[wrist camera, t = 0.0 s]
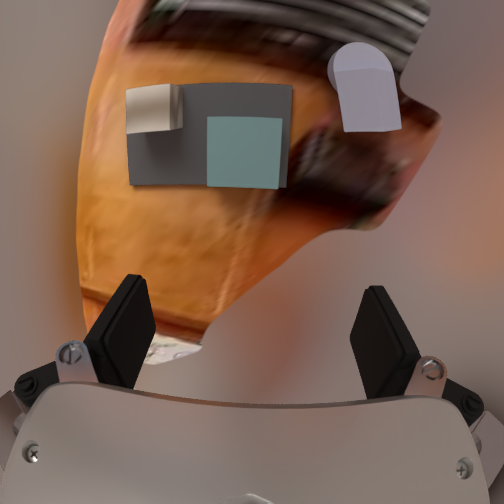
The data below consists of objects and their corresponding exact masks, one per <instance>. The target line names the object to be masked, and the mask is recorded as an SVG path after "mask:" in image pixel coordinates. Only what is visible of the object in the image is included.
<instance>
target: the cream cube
mask: <svg viewBox="0 0 504 504" xmlns="http://www.w3.org/2000/svg"><path fill="white" fill-rule="evenodd" d="M179 128H183V88H182V87H179V86H176V85H173V84H162V85H153V86H146V87H139V88H133V89H127V90H126V134H130V133H140V132H151V131H165V130H173V129H179Z"/></svg>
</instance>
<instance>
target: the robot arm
mask: <svg viewBox="0 0 504 504" xmlns="http://www.w3.org/2000/svg"><path fill="white" fill-rule="evenodd" d="M155 331H156V325H155V321H154V316H153V312H152V308H151V303H150V299H149V294H148V289H147V284H146V280H145V279H142V276H141V275H134V274H128V275H127V276H126V277H125V279H124V280H123V282H122V283H121V284H120V286H119V287H118V289H117V290H116V292H115V293H114V295H113V296H112V298H111V299H110V300H109V302H108V303H107V305H106V306H105V308H104V309H103V311H102V312H101V314H100V316H99V317H98V319H97V320H96V322H95V323H94V325H93V326H92V328H91V330H90V331H89V333H88V334H87V336H86V338H85V339H84V341H83V342H80V341H75V340H73V341H69V342H66V343H64V344H63V345H61V346H60V347H59V349H58V350H57V352H56V355H55V360H56V361H54V362H51V363H49V364H46V365H44V366H41V367H39V368H37V369H34V370H32V371H29V372H27V373H25V374H23V375H21V376H20V377H19V378H18V379H17V381H16V383H15V386H14V389H15V390H14V391H13V392H12V391H11V390H10V391H8V392H7V393H6V394H4V395H3V396H2V397H1V398H0V465H1V467H2V469H3V470H4V474H3V478H2V482H1V486H0V504H490V500H489V494H488V488H489V487H490V485H491V484H492V482H493V481H494V479H495V477H496V476H497V474H498V472H499V471H500V469H501V467H502V465H503V464H504V426H503V425H502V424H501V423H500V422H499V421H498V420H497V419H496V418H495V417H494V416H493V415H492V414H491V413H489V411H486V412H484V404H483V401H482V399H481V398H480V397H479V395H477V394H476V393H474V392H472V391H470V390H469V389H467V388H465V387H463V386H461V385H459V384H457V383H455V382H453V381H452V380H450V379H448V378H447V369H446V367H445V365H444V363H443V362H442V361H441V360H439V359H437V358H436V357H433V356H424V357H421V355H420V353H419V350H418V348H417V346H416V344H415V342H414V340H413V339H412V336H411V334H410V332H409V331H408V329H407V327H406V325H405V323H404V321H403V320H402V318H401V316H400V314H399V313H398V311H397V309H396V307H395V305H394V304H393V302H392V300H391V299H390V297H389V295H388V293H387V292H386V290H385V288H384V287H383V286H369V288H368V289H366V290H365V292H364V294H363V298H362V301H361V304H360V307H359V311H358V313H357V316H356V320H355V322H354V325H353V328H352V331H351V334H350V343H351V346H352V349H353V352H354V355H355V359H356V362H357V365H358V369H359V372H360V376H361V379H362V382H363V386H364V389H365V393H366V397H367V400H357V401H347V402H334V403H317V404H248V403H231V402H218V401H207V400H198V399H189V398H181V397H175V396H168V395H161V394H156V393H150V392H144V391H139V390H134V389H133V388H134V385H135V383H136V380H137V378H138V375H139V372H140V370H141V367H142V364H143V362H144V359H145V357H146V354H147V352H148V349H149V347H150V344H151V342H152V339H153V337H154V334H155Z"/></svg>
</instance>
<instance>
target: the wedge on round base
mask: <svg viewBox="0 0 504 504" xmlns="http://www.w3.org/2000/svg"><path fill="white" fill-rule="evenodd" d="M328 77H329V80H330V82H331V84H332V86H333V87H334V89H335V90H336V91H337V92H338V96H339V101H340V107H341V113H342V120H343V127H344V132H385V131H391V130H397V129H402V128H401V119H400V110H399V103H398V96H397V90H396V84H395V78H394V73H393V69H392V66H391V64H390V62H389V60H388V59H387V57H386V56H385V55H384V54H383V53H382V52H381V51H380V50H378V49H377V48H375V47H374V46H372V45H369V44H366V43H362V42H354V43H349V44H347V45H345V46H343V47H342V48H340V49H339V50H338V51H337V52H335V53H334V54H333V55H332V57H331V58H330V60H329V63H328Z"/></svg>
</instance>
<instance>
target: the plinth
mask: <svg viewBox="0 0 504 504" xmlns="http://www.w3.org/2000/svg"><path fill="white" fill-rule="evenodd" d="M281 137H282V119H280V118H263V117H207V187H244V188H266V189H278V184H279V169H280V154H281Z"/></svg>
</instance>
